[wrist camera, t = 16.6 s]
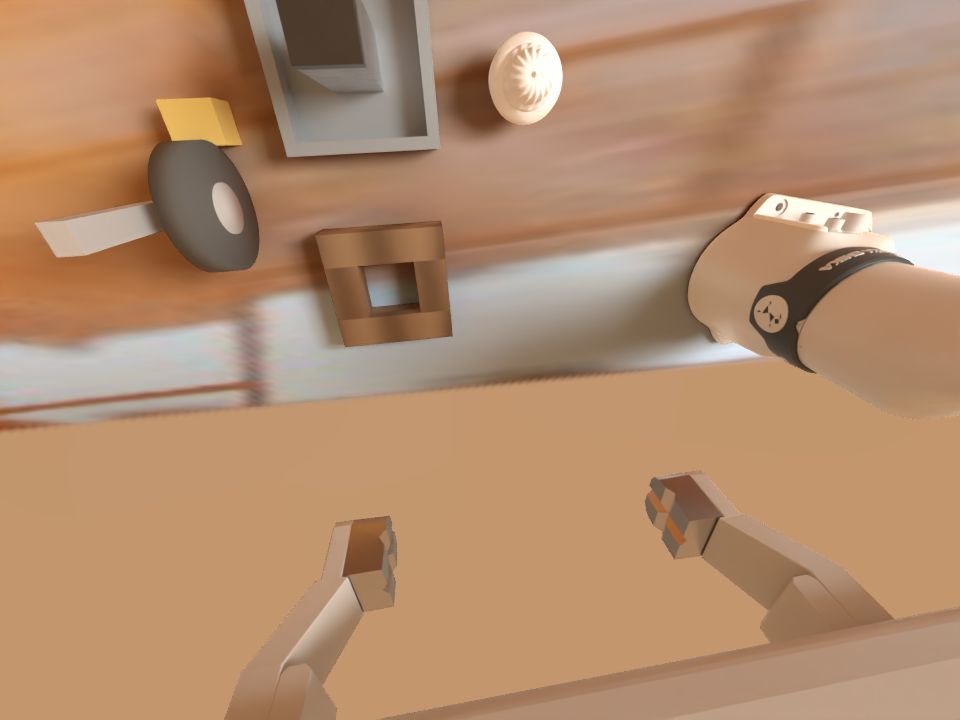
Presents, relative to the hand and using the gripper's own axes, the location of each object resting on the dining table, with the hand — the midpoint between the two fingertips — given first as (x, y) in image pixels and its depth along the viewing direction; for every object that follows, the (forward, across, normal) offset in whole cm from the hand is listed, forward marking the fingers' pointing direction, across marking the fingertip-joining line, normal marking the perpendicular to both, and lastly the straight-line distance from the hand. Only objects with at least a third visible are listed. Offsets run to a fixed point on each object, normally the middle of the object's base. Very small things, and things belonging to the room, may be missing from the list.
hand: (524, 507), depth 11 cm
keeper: (+33, +7, +3) cm, 34 cm away
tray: (+33, +7, -16) cm, 37 cm away
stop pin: (+32, +7, -16) cm, 37 cm away
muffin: (+33, -7, -14) cm, 37 cm away
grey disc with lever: (+33, +21, -7) cm, 40 cm away
